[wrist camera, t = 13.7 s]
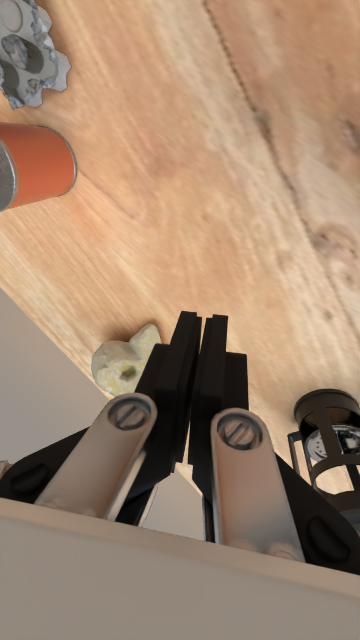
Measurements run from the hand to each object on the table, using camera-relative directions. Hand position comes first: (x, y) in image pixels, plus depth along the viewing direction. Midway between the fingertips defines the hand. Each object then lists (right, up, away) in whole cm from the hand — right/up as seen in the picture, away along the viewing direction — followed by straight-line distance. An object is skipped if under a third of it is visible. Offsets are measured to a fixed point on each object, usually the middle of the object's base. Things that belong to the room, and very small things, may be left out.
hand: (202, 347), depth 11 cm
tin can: (-16, +19, +23) cm, 34 cm away
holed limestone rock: (-5, -6, +36) cm, 37 cm away
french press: (+22, -13, +35) cm, 43 cm away
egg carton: (-16, +29, +17) cm, 37 cm away
